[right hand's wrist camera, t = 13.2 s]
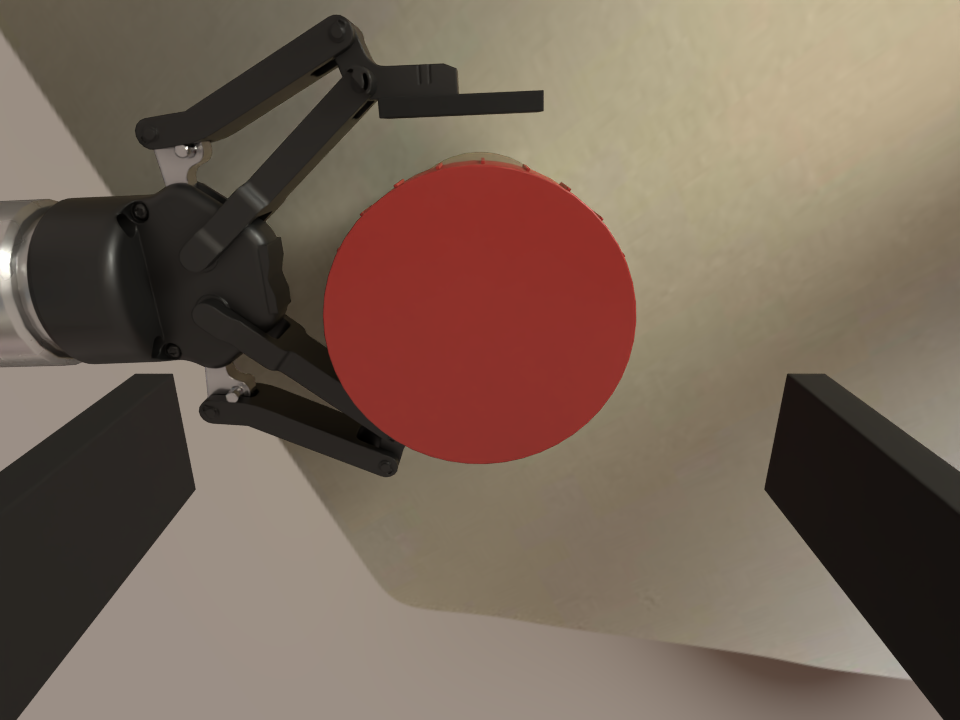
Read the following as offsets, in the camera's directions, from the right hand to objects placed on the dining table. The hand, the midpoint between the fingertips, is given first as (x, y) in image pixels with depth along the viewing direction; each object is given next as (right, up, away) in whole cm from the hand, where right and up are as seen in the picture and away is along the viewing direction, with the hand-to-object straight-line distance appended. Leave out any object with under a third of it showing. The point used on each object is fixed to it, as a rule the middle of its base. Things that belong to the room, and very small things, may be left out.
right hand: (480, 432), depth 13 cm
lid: (0, +3, +7) cm, 7 cm away
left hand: (+3, +6, +15) cm, 16 cm away
